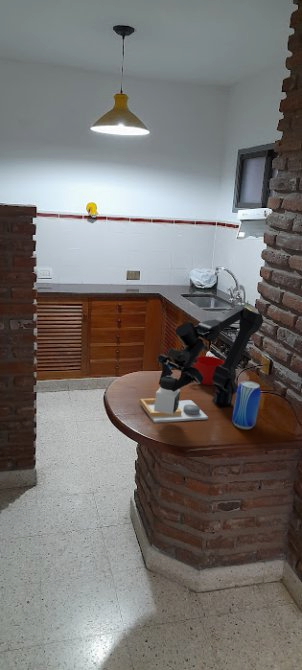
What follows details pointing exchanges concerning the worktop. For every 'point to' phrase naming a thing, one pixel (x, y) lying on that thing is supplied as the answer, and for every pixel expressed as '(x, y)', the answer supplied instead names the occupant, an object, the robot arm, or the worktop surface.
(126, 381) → the worktop surface
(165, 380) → the medicine bottle
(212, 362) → the ceramic cup
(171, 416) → the plate with orange frame
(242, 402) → the beer can
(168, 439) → the worktop surface
